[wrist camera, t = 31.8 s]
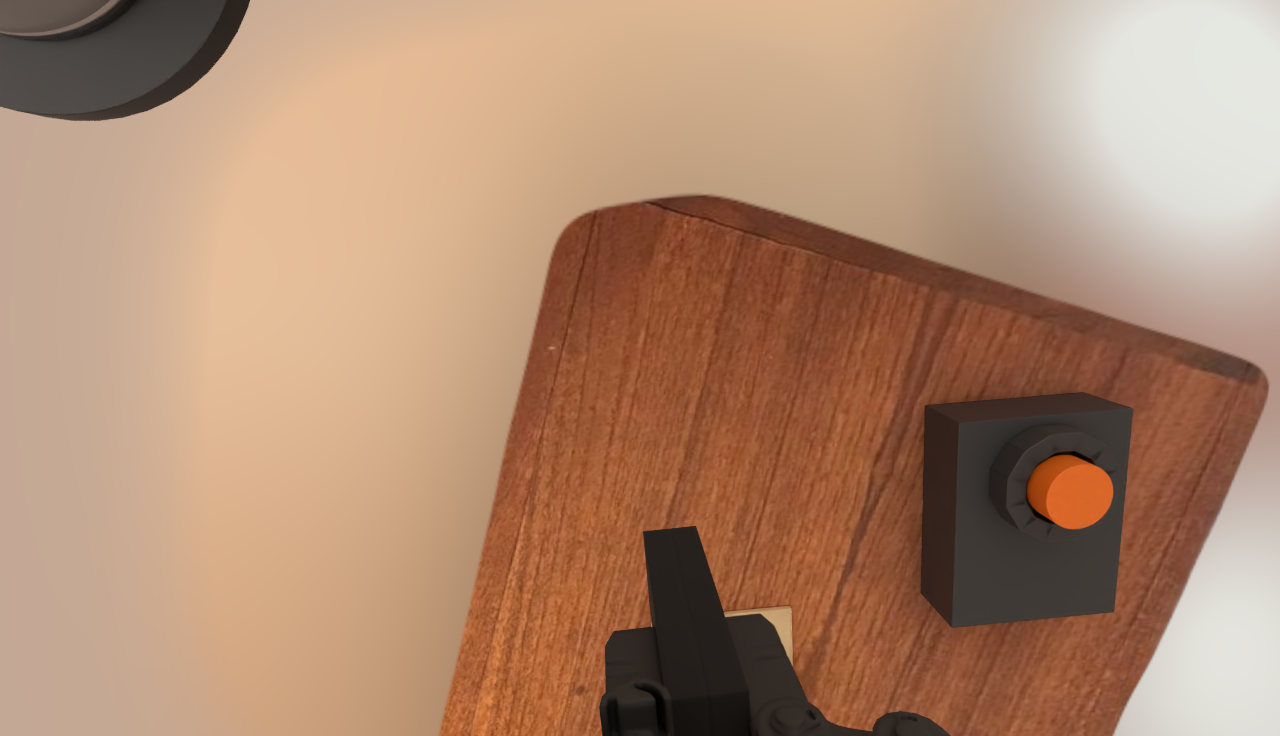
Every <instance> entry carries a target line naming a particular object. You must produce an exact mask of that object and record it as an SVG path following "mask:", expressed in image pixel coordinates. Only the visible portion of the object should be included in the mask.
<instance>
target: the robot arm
mask: <svg viewBox="0 0 1280 736" xmlns="http://www.w3.org/2000/svg"><path fill="white" fill-rule="evenodd" d="M135 2H136V0H0V34H2V35H5V36H9V37H13V38H18V39H23V40H31V41H60V40H68V39H72V38H77V37H81V36H84V35H87V34H90V33H93V32H95V31H97V30H99V29H101V28H103V27H105V26H107V25H108V24H110V23H112V22H113V21H115V20H116V19H117V18H119V17H120V16H121V15H122V14H124V13H125V12H126V11H127V10H128V9H129V8H130V7H131V6H132V5H133V4H134V3H135ZM643 535H644V546H645V557H646V568H647V580H648V591H649V602H650V613H651V622H652V627H647V628H638V629H629V630H620V631H614V632H613V633H612V635H611V637H610V639H609V640H608V642H607V644H606V646H605V664H606V665H605V675H606V693H605V694H604V695H603V696H602V699H601V703H600V707H599V708H600V717H601V726H602V735H603V736H950V735H949V734H948V733H947V732H946V731H945V730H944V729H943V728H941V727H940V726H939V725H937V724H936V723H935V722H933V721H932V720H930V719H928V718H926V717H923V716H921V715H918V714H916V713H909V712H902V711H899V712H893V713H887V714H885V715H884V716H882V717H880V718H879V719H877V721H876V723H875V725H874V726H873V732H872V731H865V730H858V729H851V728H847V727H842V726H839V725H836V724H834V723H831V722H829V721H827V720H826V718H825V717H824V716H823V714H822V713H821V712H820V710H819V709H818V708H817V707H815V706H814V705H812V704H811V703H809V702H808V700H807V698H806V696H805V694H804V691H803V689H802V687H801V685H800V682H799V680H798V678H797V676H796V673H795V671H794V669H793V666H792V664H791V662H790V660H789V657H788V656H787V653H786V651H785V648H784V646H783V644H782V643H781V639H780V637H779V635H778V632H777V630H776V628H775V626H774V625H773V624H772V623H771V622H770V621H769V620H767V619H766V618H765V617H764V616H763V615H762V614H760V613H758V614H749V615H740V616H731V617H725V615H724V612H723V609H722V606H721V602H720V599H719V596H718V593H717V590H716V587H715V584H714V581H713V578H712V575H711V571H710V568H709V565H708V562H707V559H706V556H705V553H704V550H703V547H702V544H701V540H700V537H699V534H698V531H697V528H696V526H691V527H681V528H672V529H662V530H653V531H643Z"/></svg>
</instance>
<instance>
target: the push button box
mask: <svg viewBox="0 0 1280 736" xmlns="http://www.w3.org/2000/svg"><path fill="white" fill-rule="evenodd" d="M1132 416H1133V408H1130V407H1127V406H1124V405H1121V404H1117V403H1114V402H1111V401H1108V400H1105V399H1102V398H1099V397H1096V396H1093V395H1090V394H1086V393H1083V392H1082V393H1069V394H1057V395H1045V396H1033V397H1021V398H1009V399H997V400H985V401H973V402H960V403H948V404H936V405H926V406H925V440H924V482H923V524H922V565H921V594H922V595H923V596H924V597H925V598H926V599H927V600H928V601H929V603H930V604H931V605H932V606H933V607H934V608H935V609H936V610H937V612H938V613H939V614H940V615H941V616H942V617H943V618H944V619H945V621H946V622H947V623H948V624H949V625H950V626H951V627H952V628H955V627H966V626H976V625H986V624H997V623H1007V622H1017V621H1028V620H1038V619H1048V618H1059V617H1069V616H1079V615H1090V614H1100V613H1110V612H1114V608H1115V597H1116V587H1117V576H1118V565H1119V554H1120V544H1121V533H1122V522H1123V512H1124V501H1125V490H1126V480H1127V469H1128V458H1129V448H1130V437H1131V426H1132ZM1056 455H1072V456H1075V457H1078V458H1080V459H1082V460H1084V461H1086V462H1088V463H1091V464H1093V465H1095V466H1097V467H1099V468H1101V469H1102V470H1104V471H1105V472H1106V473H1107V475H1108V476H1109V478H1110V479H1111V482H1112V485H1113V498H1112V502H1111V505H1110V507H1109V509H1108V510H1107V512H1106V513H1105V514H1104V516H1103V517H1102V518H1101V519H1099V520H1098V521H1097V522H1095V523H1094V524H1092V525H1090V526H1088V527H1085V528H1081V529H1067V528H1064V527H1061V526H1059V525H1057V524H1056V523H1054V522H1053V521H1051V520H1049V519H1048V518H1046V517H1045V516H1043V515H1042V514H1040V513H1038V512H1037V511H1036V510H1035V509H1034V508H1033V507H1032V506H1031V504H1030V502H1029V500H1028V496H1027V484H1028V480H1029V478H1030V476H1031V474H1032V472H1033V471H1034V469H1035V468H1036V467H1037V466H1038V465H1039V464H1040V463H1041V462H1043V461H1044V460H1046V459H1048V458H1050V457H1052V456H1056Z"/></svg>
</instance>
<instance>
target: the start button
mask: <svg viewBox="0 0 1280 736" xmlns="http://www.w3.org/2000/svg"><path fill="white" fill-rule="evenodd" d="M1027 496H1028V500H1029V502H1030V504H1031V506H1032V507H1033V508H1034V509H1035V510H1036V511H1037V512H1038V513H1040V514H1042V515H1043V516H1045V517H1046V518H1048V519H1049V520H1051V521H1053V522H1054V523H1056V524H1057V525H1059V526H1061V527H1064V528H1067V529H1081V528H1085V527H1088V526H1090V525H1092V524H1094V523H1095V522H1097V521H1098V520H1099V519H1101V518H1102V517H1103V516H1104V514H1105V513H1106V512H1107V510H1108V509H1109V507H1110V505H1111V502H1112V498H1113V485H1112V482H1111V479H1110V478H1109V476H1108V475H1107V473H1106V472H1105V471H1104V470H1102V469H1101V468H1099V467H1097V466H1095V465H1093V464H1091V463H1088V462H1086V461H1084V460H1082V459H1080V458H1078V457H1075V456H1072V455H1056V456H1052V457H1050V458H1048V459H1046V460H1044V461H1043V462H1041V463H1040V464H1039V465H1038V466H1037V467H1036V468H1035V469H1034V471H1033V472H1032V474H1031V476H1030V478H1029V480H1028V484H1027Z"/></svg>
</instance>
